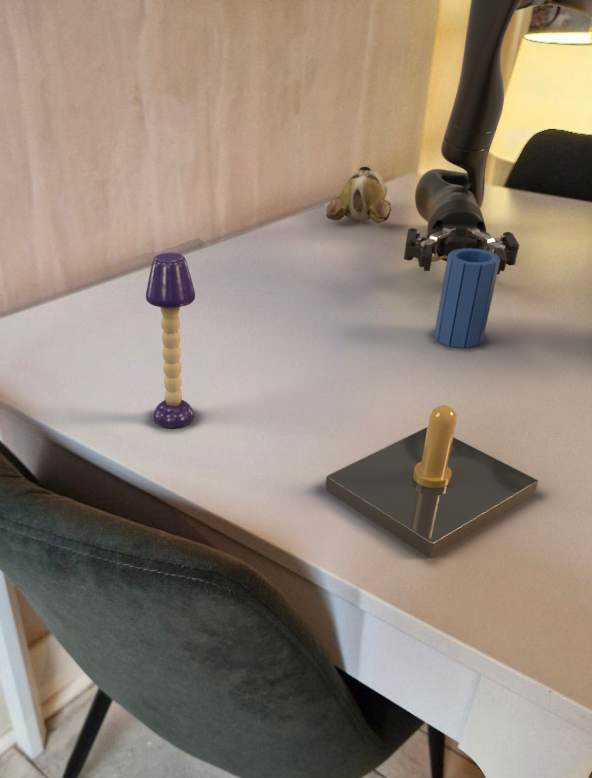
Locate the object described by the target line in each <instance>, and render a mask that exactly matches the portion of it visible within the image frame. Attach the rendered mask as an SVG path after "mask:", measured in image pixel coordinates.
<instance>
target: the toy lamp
mask: <svg viewBox="0 0 592 778" xmlns="http://www.w3.org/2000/svg"><path fill="white" fill-rule="evenodd" d="M146 286H147V287H146V291H145V300H146V302H147V303H149V304H150V305H152V306H154V307H158V308H160V312H161V315H162V318H161V323H160V324H161V329H162V331H163V332H162V335H161V341H162V345H163V347H162V359H163V361H164V362H163V366H162V369H163V374H164V375H165V376H164V378H163V385H164V388H165V391H164V400H162V401H161V402H159V403H158V405H157V406H156V407H155V409H154V412H153V422H154V423H155V424H156V425H158V426H161V427H165V428H170V429H174V428H181V427H185V426H187V425H189V424H191V423H192V422H193V421H194V419H195V412H194V409H193V407H192V406H191V405H190V403H188V402H187V401H186V400H184V399H183V392H182V390H181V388H182V382H183V379H182V376H181V373H182V363H181V361H180V359H181V355H182V351H181V348H180V344H181V333H180V332H179V330H180V327H181V320H180V317H179V314H180V309H181V308H182V307H185V306H189V305H190V304H192V303H193V302H194V301H195V300H196V291H195V287H194V284H193V280H192V276H191V272H190V268H189V265H188V261H187V259H186V257H185V256H184V255H183V254H181V253H177V252H163V253H159V254H157V255H155V256H154V257H153V259H152V262H151V267H150V271H149V276H148V280H147V285H146Z"/></svg>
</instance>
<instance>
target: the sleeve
mask: <svg viewBox="0 0 592 778" xmlns="http://www.w3.org/2000/svg"><path fill="white" fill-rule="evenodd" d="M493 252H494V251H492V252H490V251H486V250H482V249H471V248H468V249H466V248H464V249H457V250H454V251H452V252H450V253H449V254H448V257H447V261H446V263H445V269H444V276H443V280H442V287H441V292H440V299H439V305H438V311H437V316H436V321H435V322H436V323H435V328H434V334H433V336H434V338H435V340H436V341H437V342H438V343H440V344H442V345H445V346H447V347H452V348H460V349H461V348H462V349H464V348H466V349H468V348H472V347H473V348H474V347H478V346H479V345H480V344H481V343H482V342H483V341H484V337H485V334H486V333H485V332H486V328H487V323H488V319H489V314H490V309H491V304H492V301H493V296H494V292H495V286H496V281H497V278H498V275H497V273H498V268H499V263H500V257H499V256H498V255H497V254H495V253H493Z"/></svg>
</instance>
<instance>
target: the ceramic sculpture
mask: <svg viewBox="0 0 592 778" xmlns="http://www.w3.org/2000/svg"><path fill="white" fill-rule="evenodd" d="M387 194H388V187H387V186H386V183H385V180H384V178H383V177H382V176H381V174H380V172H379V171H377V169H375V168H374V167H373V165H372V164H371V163H368V164H367V165H366V166H361V167H359V168H357V169H356V170H355V171H354V172H353V175H352V176H351V177H350V178H349V179H348V180H347V182H345V183H344V185H343V187H342V190H341V192H340V194H339V196H338V197H335V198H332V199H331V200H330V202H329V203H328V204H327V208H326V218H327V219H329V220H331V221H340V220H342V219H343V218H345V217H346V218H347V219H349V220H351V221H355V222H366V221H370V220H371V221H373V222H375V223H378V224H382V223H384V222H386V221H388V219H389V217H390V215H391V211H392V208H391V202H390V201H389V200H387V199H386V196H387Z"/></svg>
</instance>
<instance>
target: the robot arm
mask: <svg viewBox="0 0 592 778" xmlns="http://www.w3.org/2000/svg"><path fill="white" fill-rule="evenodd" d="M541 6H555V7H560V8H564V9H568V10H571V11H575V12H577V13H581V14H583V15H585V16H587V17H588V18H590V19H591V20H592V0H471V1H470V7H469V13H468V20H467V27H466V33H465V34H466V35H465V41H464V49H463V57H462V64H461V70H460V77H459V79H458V80H459V81H458V85H457V89H456V90H457V91H456V93H455V97H454V101H453V105H452V108H451V111H450V115H449V118H448V121H447V125H446V128H445V131H444V136H443V138H442V142H441V146H440V153H441V155H442V158H443V159H444V160H446V162H448V163H450V164H452V165H453V166H456V167H458V168H461V169H462V170H464V171H465V172H462V171H456V170H450V169H443V168H433V169H430V170H427V171H426V172H425V173H423V175H421V177H420V179H419V180H418V182H417V184H416V188H415V192H414V203H415V208H416V210H417V212H418V214H419V216H420V217H421V218H422V219H423V220H425V221H426V222H427V228H426V230H427V234H421V232H420V231H418V229H417V228H415V227H410V228H408V229H407V235H406V239H405V248H404V254H403V260H405V261H409V262H410V261H413V260H414V258H415V259H417V262H418V266H419V267H420V268H423V272H430V271H431V266H432V262H433V263H436V262H439V261H441V260H442V261H444V262H447V257H448V254H449V253H450V252H452V251H454V250H457V249H464V248H466V249H468V248H471V249H482V250H486V251H490V252H493V253H495V254H497V255H498V256H499V257H500V263H499V268H498V273H497V276H499V275H500V273H501V272H504V271H506V266H515V265H516V264H517V256H518V252H519V250H520V243H519V242H518V240H517V238H516V237H515V235H514V233H513V232H511V231H505V232H503V233H502V234H501V235H500V237H494V236H492V235H491V233H489V232H487V227H486V222H485V219H484V216H483V213H482V210H481V209H482V206H483V205H484V200H485V199H484V198H485V181H486V179H485V178H486V168H487V167H486V166H487V162H488V156H489V152H490V150H491V146H492V143H493V140H494V137H495V135H496V131H497V129H498V126H499V124H500V121H501V117H502V114H503V109H504V103H505V102H504V101H505V89H504V88H505V87H504V80H503V74H502V63H501V60H502V57H501V56H502V47H503V43H504V39H505V36H506V34H507V31H508V28H509V26H510V24H511V21H512V20H513V19H512V18H513V16H514V15H515V13H516V11H521V10H526V9H530V8H535V7H541Z"/></svg>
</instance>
